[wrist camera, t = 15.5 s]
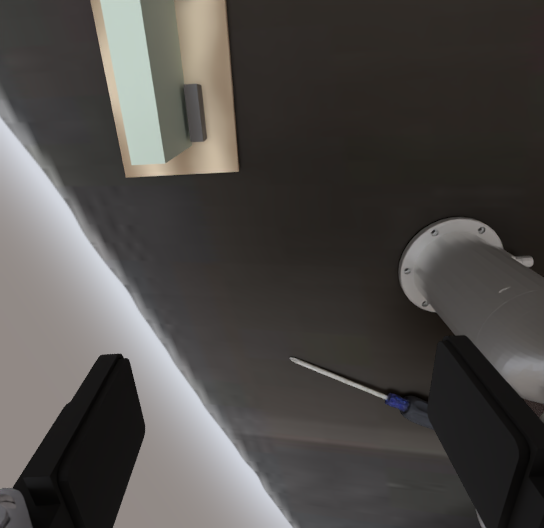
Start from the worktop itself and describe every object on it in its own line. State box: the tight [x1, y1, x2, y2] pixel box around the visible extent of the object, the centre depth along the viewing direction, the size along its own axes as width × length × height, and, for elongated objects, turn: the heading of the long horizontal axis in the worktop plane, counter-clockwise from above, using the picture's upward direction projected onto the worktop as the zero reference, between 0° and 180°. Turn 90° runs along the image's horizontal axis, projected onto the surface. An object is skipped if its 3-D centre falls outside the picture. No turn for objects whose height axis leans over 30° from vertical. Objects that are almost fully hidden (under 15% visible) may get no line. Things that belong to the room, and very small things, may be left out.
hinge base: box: [91, 0, 239, 177], centre depth 28 cm, size 12×24×20 cm, turn 3°
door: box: [100, 0, 192, 165], centre depth 30 cm, size 4×18×12 cm, turn 2°
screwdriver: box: [290, 357, 434, 430], centre depth 53 cm, size 26×4×4 cm, turn 65°
